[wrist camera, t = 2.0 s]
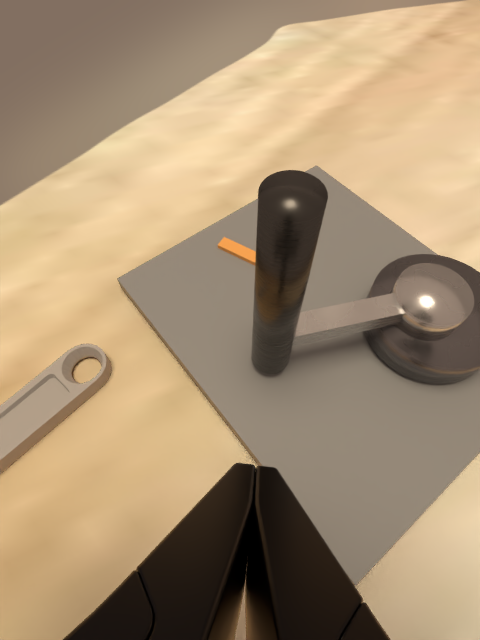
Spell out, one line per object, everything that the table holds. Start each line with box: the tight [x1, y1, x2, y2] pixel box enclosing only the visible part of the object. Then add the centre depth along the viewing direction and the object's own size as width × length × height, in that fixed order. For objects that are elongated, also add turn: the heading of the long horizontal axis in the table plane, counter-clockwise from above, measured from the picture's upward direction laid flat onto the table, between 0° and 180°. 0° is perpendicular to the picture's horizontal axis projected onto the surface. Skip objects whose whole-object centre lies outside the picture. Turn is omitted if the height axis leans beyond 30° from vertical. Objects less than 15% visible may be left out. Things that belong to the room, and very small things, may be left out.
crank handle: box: [251, 170, 480, 384], centre depth 16 cm, size 8×13×11 cm, turn 128°
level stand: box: [117, 165, 480, 585], centre depth 23 cm, size 20×17×1 cm
